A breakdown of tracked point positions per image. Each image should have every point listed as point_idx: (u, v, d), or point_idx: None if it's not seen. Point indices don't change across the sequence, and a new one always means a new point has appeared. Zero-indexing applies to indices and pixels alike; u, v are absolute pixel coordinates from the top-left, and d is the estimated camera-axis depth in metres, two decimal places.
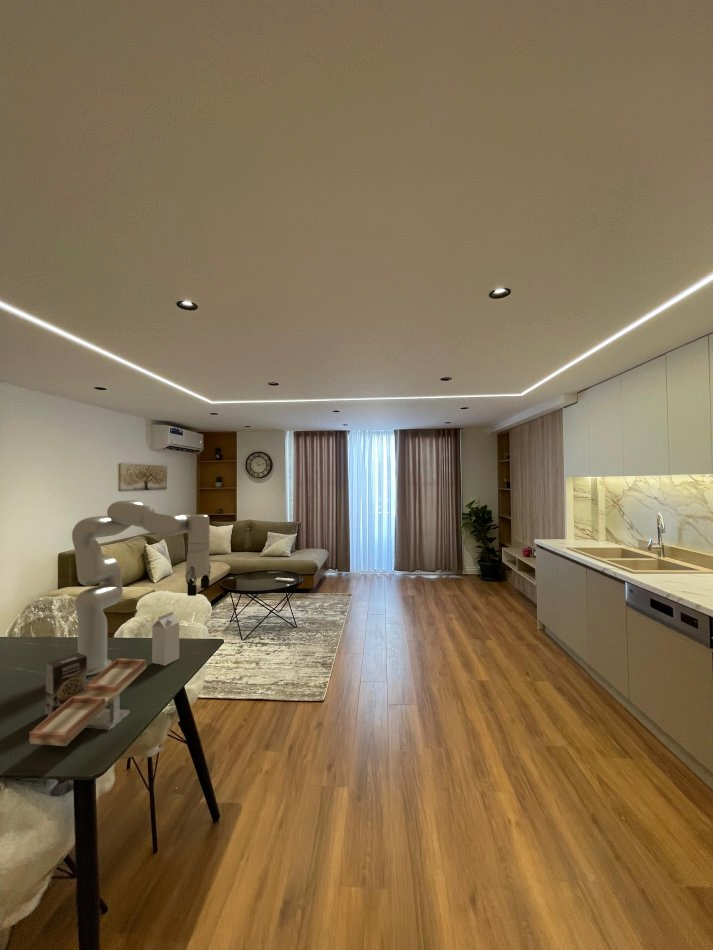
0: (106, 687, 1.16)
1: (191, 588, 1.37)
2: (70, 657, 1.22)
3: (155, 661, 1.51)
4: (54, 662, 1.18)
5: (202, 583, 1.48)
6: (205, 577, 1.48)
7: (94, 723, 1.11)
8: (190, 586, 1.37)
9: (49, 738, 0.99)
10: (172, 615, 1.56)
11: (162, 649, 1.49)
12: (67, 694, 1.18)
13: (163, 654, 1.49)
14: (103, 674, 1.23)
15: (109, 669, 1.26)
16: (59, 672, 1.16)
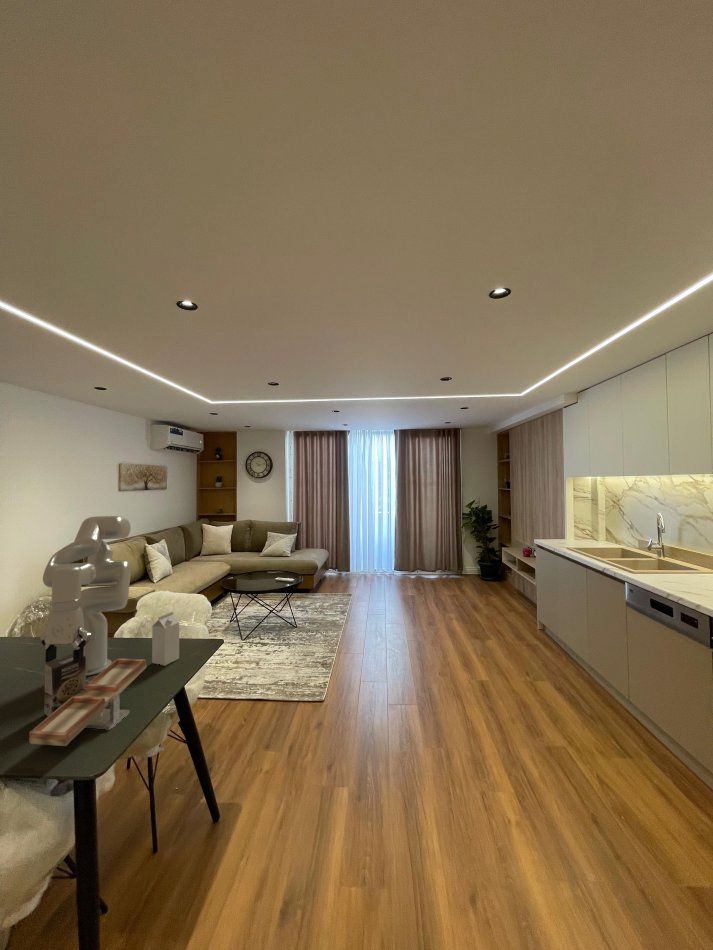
0: (106, 687, 1.16)
1: (82, 651, 1.19)
2: (69, 657, 1.21)
3: (155, 661, 1.51)
4: (53, 663, 1.18)
5: (49, 655, 1.19)
6: (52, 646, 1.20)
7: (94, 723, 1.11)
8: (81, 649, 1.18)
9: (49, 738, 0.99)
10: (172, 615, 1.56)
11: (162, 649, 1.49)
12: (67, 694, 1.18)
13: (163, 654, 1.49)
14: (103, 674, 1.23)
15: (109, 669, 1.26)
16: (58, 673, 1.16)
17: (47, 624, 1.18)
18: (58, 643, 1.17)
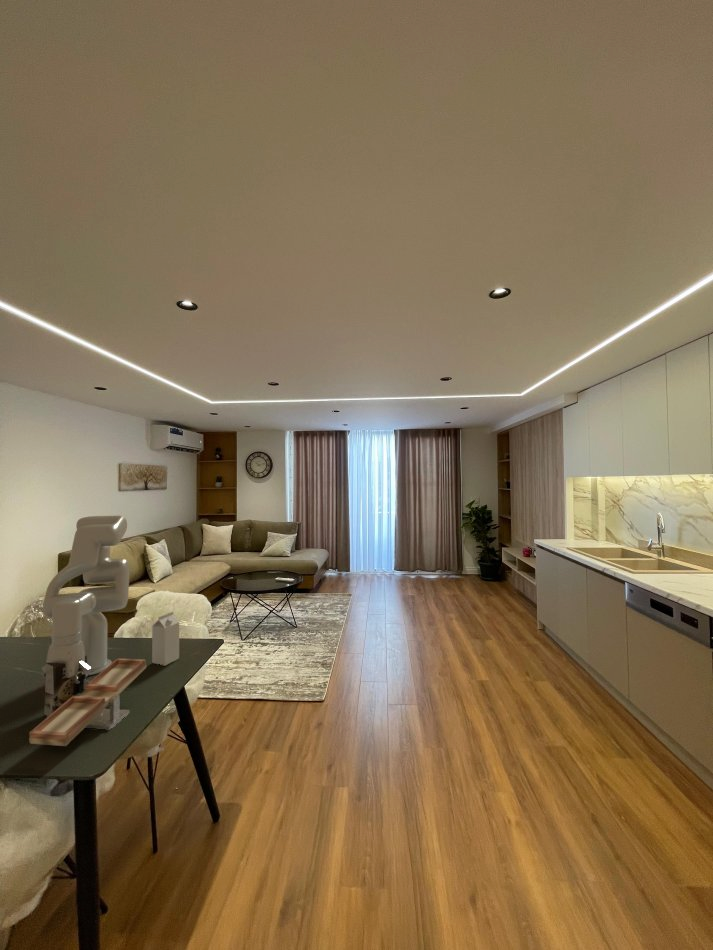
0: (106, 687, 1.16)
1: (82, 684, 1.20)
2: None
3: (155, 661, 1.51)
4: None
5: None
6: None
7: (94, 723, 1.11)
8: (81, 683, 1.20)
9: (49, 738, 0.99)
10: (172, 615, 1.56)
11: (162, 649, 1.49)
12: (68, 694, 1.18)
13: (163, 654, 1.49)
14: (103, 674, 1.23)
15: (109, 669, 1.26)
16: (60, 672, 1.16)
17: (48, 657, 1.18)
18: None
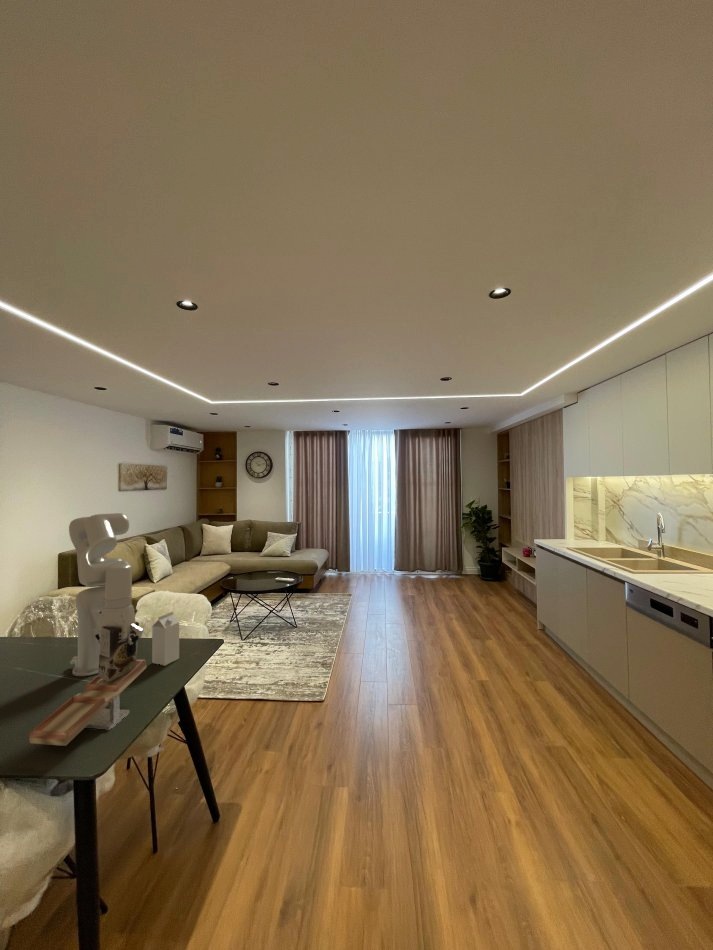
0: (106, 687, 1.16)
1: (134, 646, 1.23)
2: None
3: (155, 661, 1.51)
4: (109, 627, 1.21)
5: None
6: None
7: (94, 723, 1.11)
8: (134, 644, 1.23)
9: (49, 738, 0.99)
10: (172, 615, 1.56)
11: (162, 649, 1.49)
12: (121, 658, 1.21)
13: (163, 654, 1.49)
14: None
15: None
16: (116, 636, 1.19)
17: (101, 620, 1.22)
18: None
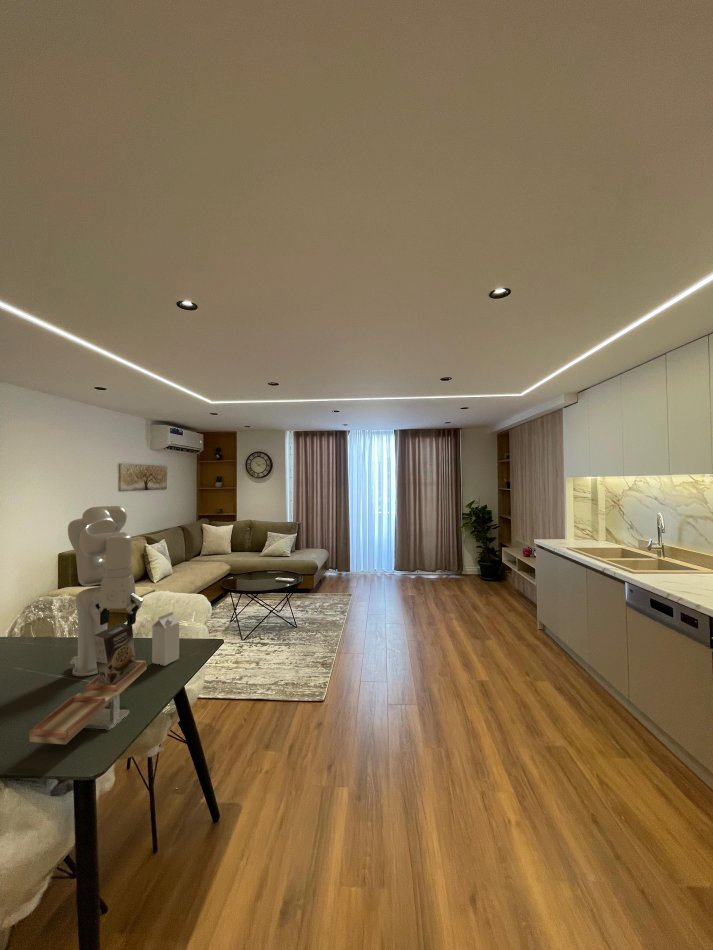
0: (106, 687, 1.16)
1: (134, 615, 1.24)
2: (115, 627, 1.23)
3: (155, 661, 1.51)
4: (102, 634, 1.20)
5: (103, 618, 1.24)
6: (105, 610, 1.25)
7: (94, 723, 1.11)
8: (134, 614, 1.24)
9: (49, 736, 0.99)
10: (172, 615, 1.56)
11: (162, 649, 1.49)
12: (120, 661, 1.21)
13: (163, 654, 1.49)
14: None
15: None
16: (111, 642, 1.18)
17: (101, 589, 1.22)
18: (113, 607, 1.22)
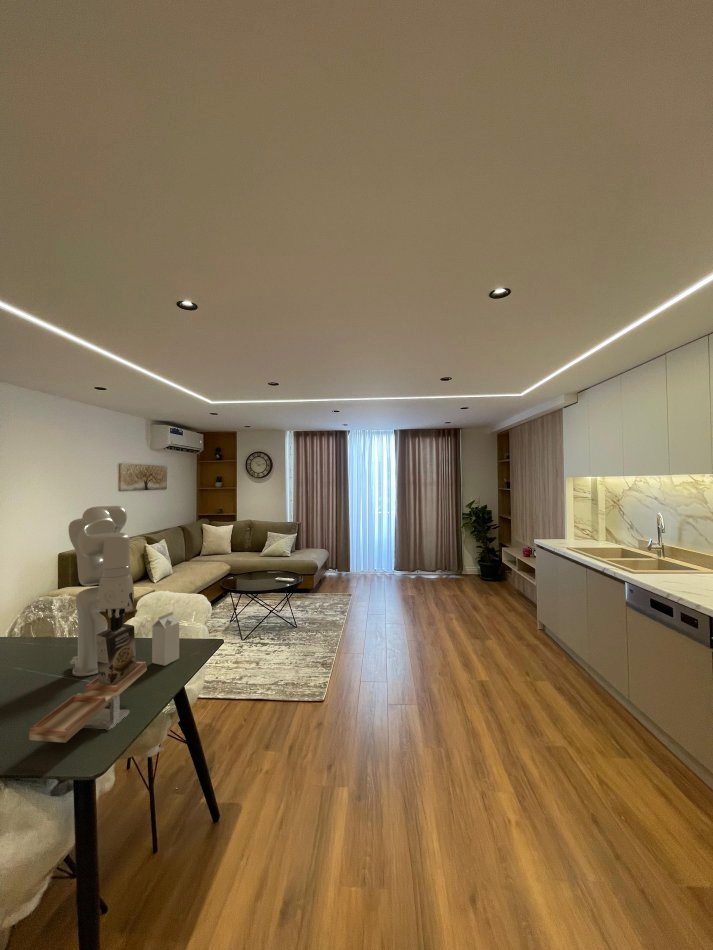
0: (106, 687, 1.16)
1: (121, 619, 1.23)
2: None
3: (155, 661, 1.51)
4: (104, 633, 1.20)
5: None
6: None
7: (94, 723, 1.11)
8: (120, 617, 1.23)
9: (49, 734, 0.99)
10: (172, 615, 1.56)
11: (162, 649, 1.49)
12: (121, 662, 1.21)
13: (163, 654, 1.49)
14: None
15: None
16: (113, 642, 1.19)
17: (99, 589, 1.21)
18: (111, 607, 1.20)
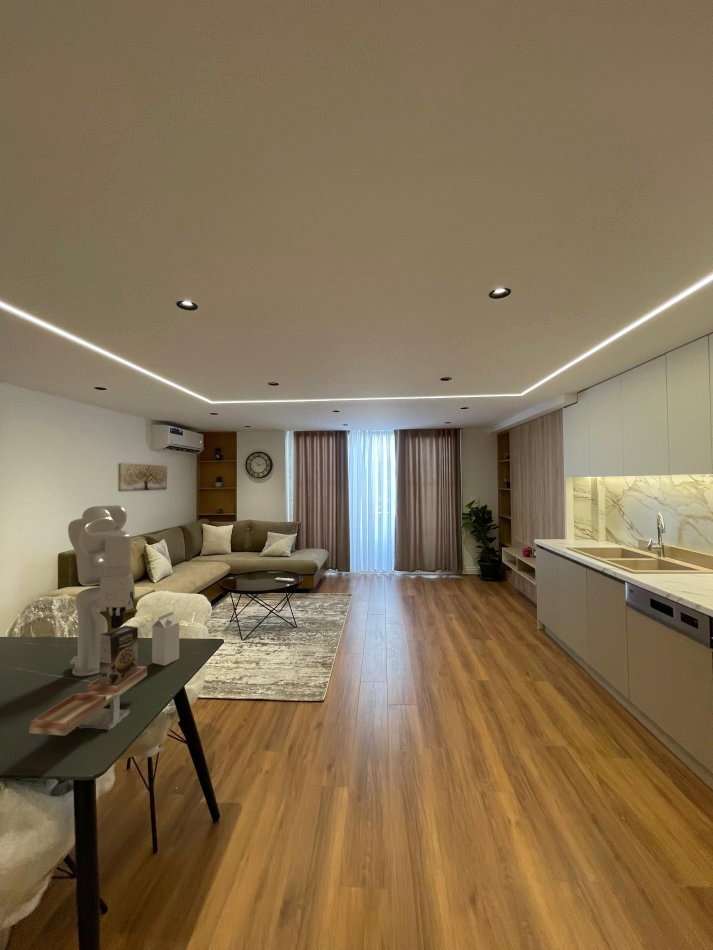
0: (107, 687, 1.17)
1: (121, 617, 1.24)
2: (121, 629, 1.26)
3: (155, 661, 1.51)
4: (108, 633, 1.22)
5: None
6: None
7: (94, 723, 1.11)
8: (121, 616, 1.24)
9: (49, 727, 0.99)
10: (172, 615, 1.56)
11: (162, 649, 1.49)
12: (123, 663, 1.22)
13: (163, 654, 1.49)
14: None
15: None
16: (116, 641, 1.20)
17: (100, 588, 1.22)
18: (112, 606, 1.21)
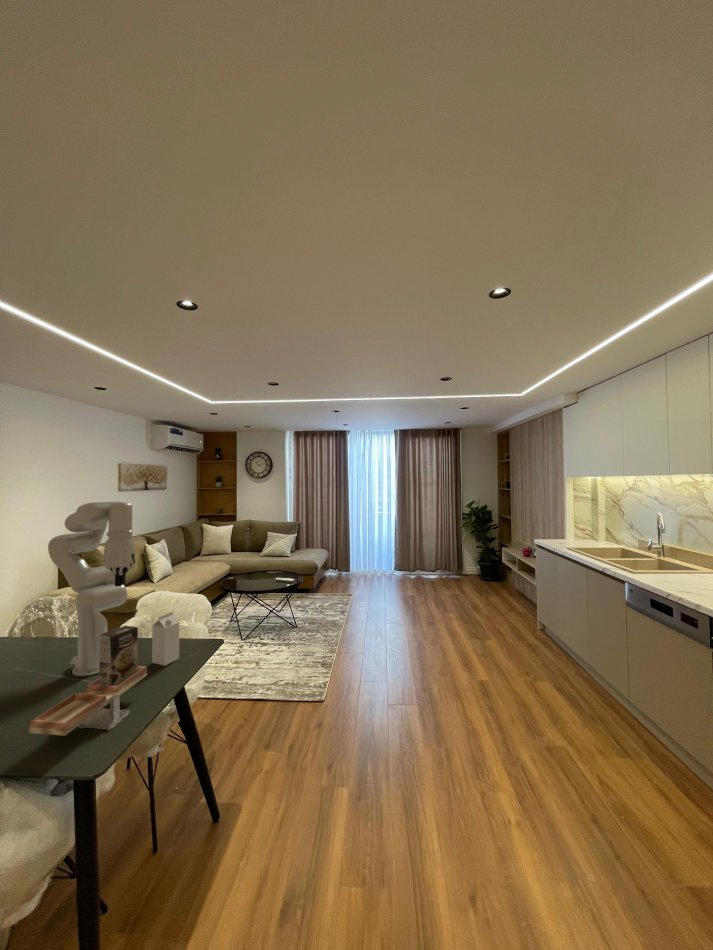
0: (107, 687, 1.17)
1: (124, 577, 1.39)
2: (121, 629, 1.26)
3: (155, 661, 1.51)
4: (108, 633, 1.22)
5: None
6: None
7: (94, 723, 1.11)
8: (123, 575, 1.38)
9: (49, 727, 0.99)
10: (172, 615, 1.56)
11: (162, 649, 1.49)
12: (123, 663, 1.22)
13: (163, 654, 1.49)
14: None
15: None
16: (116, 641, 1.21)
17: (105, 550, 1.37)
18: (115, 566, 1.36)
